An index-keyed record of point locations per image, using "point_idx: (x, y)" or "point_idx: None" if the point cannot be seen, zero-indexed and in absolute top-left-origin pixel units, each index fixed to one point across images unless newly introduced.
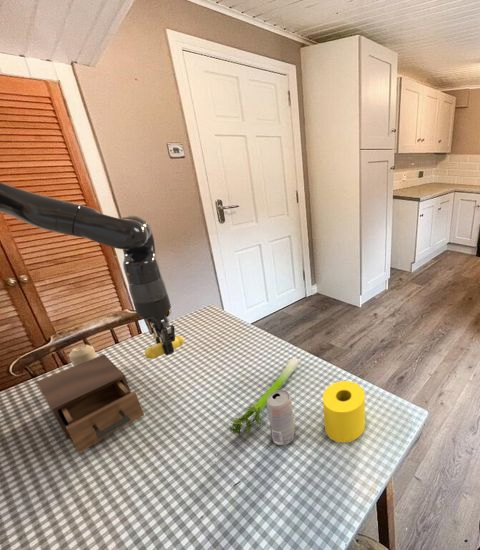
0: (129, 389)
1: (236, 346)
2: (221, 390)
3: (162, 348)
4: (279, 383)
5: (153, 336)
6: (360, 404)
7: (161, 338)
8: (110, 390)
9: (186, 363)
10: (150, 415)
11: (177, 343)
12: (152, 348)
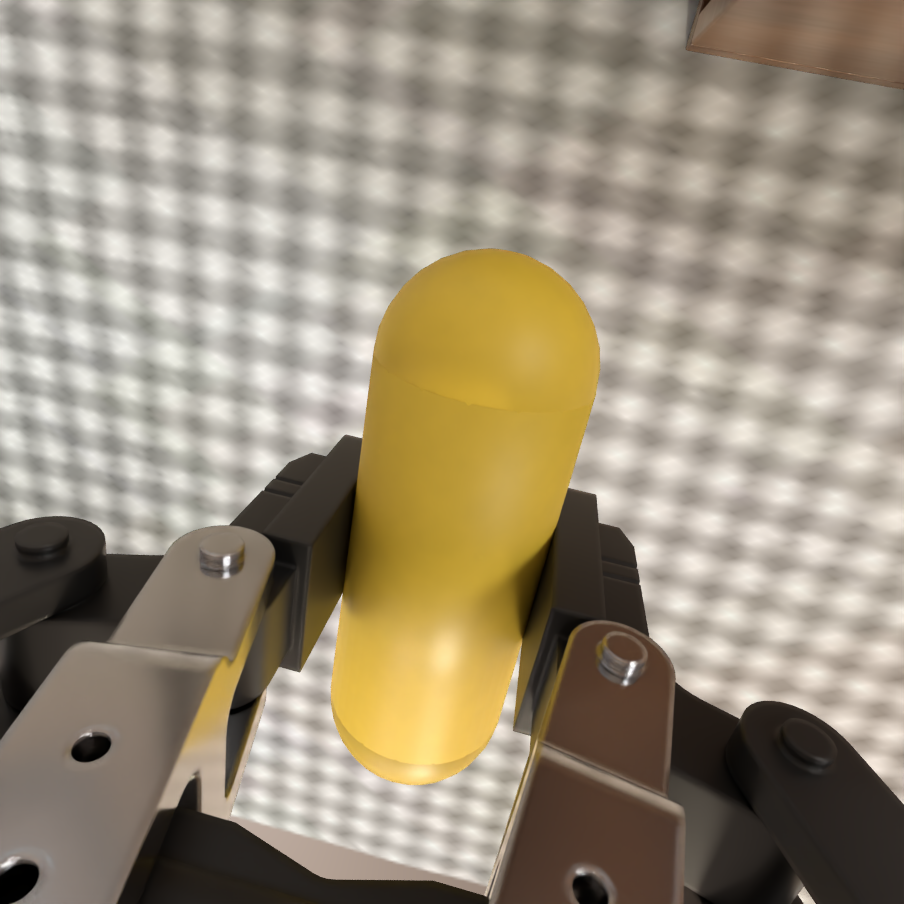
0: (721, 11)
1: (485, 765)
2: (190, 429)
3: (356, 490)
4: None
5: (613, 664)
6: None
7: (117, 636)
8: None
9: (678, 548)
10: (395, 18)
11: (335, 653)
12: (417, 401)
